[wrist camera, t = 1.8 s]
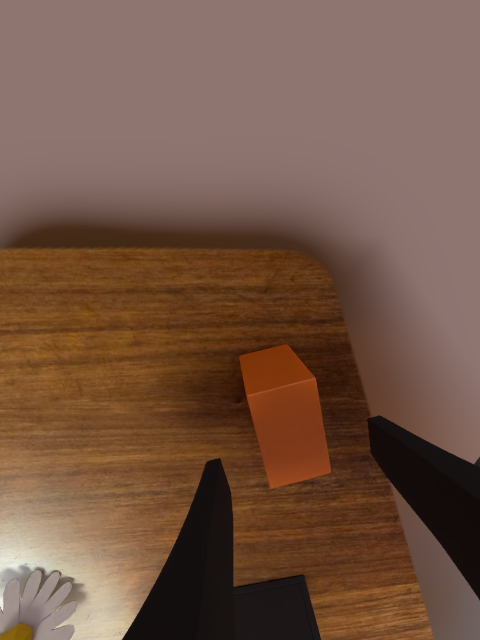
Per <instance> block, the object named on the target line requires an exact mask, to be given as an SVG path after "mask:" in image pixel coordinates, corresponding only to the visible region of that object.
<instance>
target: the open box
mask: <svg viewBox="0 0 480 640" xmlns="http://www.w3.org/2000/svg"><path fill="white" fill-rule="evenodd" d="M233 593H234V615H235V630H236V640H321V638H320V634H319V630H318V626H317V623H316V619H315V615H314V611H313V608H312V604H311V600H310V597H309V593H308V589H307V585H306V582H305V578H304V575H302V576H297V577H291V578H286V579H280V580H275V581H270V582H264V583H259V584H253V585H248V586H242V587H237V588H233Z"/></svg>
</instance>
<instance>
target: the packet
mask: <svg viewBox="0 0 480 640" xmlns="http://www.w3.org/2000/svg"><path fill="white" fill-rule="evenodd" d="M239 361H240V366H241V371H242V376H243V381H244V387H245V392H246V397H247V401H248V405H249V408H250V412H251V416H252V420H253V424H254V428H255V432H256V435H257V439H258V443H259V447H260V451H261V455H262V459H263V463H264V466H265V470H266V474H267V478H268V482H269V486H270V488H271V489H273V488H277V487H281V486H284V485H288V484H292V483H296V482H299V481H303V480H307V479H310V478H314V477H318V476H322V475H325V474H329V473H331V467H330V461H329V455H328V449H327V443H326V437H325V431H324V425H323V419H322V412H321V406H320V400H319V394H318V388H317V382H316V378H315V377H314V376H313V374H312V373H311V372H310V371H309V370H308V368H307V367H306V366H305V365H304V364H303V362H302V361H301V360H300V359H299V358H298V356H297V355H296V354H295V353H294V352H293V351H292V349H291V348H290V347H289V346H288V345H287V344H283V345H280V346H276V347H272V348H268V349H264V350H260V351H256V352H252V353H248V354H244V355H240V356H239Z"/></svg>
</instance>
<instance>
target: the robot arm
mask: <svg viewBox="0 0 480 640" xmlns="http://www.w3.org/2000/svg"><path fill="white" fill-rule="evenodd" d="M368 429H369V438H370V448H371V454H372V455H373V457H374V458H375V460H376V462H377V463H378V465H379V466H380V468H381V469H382V471H383V472H384V474H385V475H386V477H387V478H388V479H389V480H390V482H391V483H392V484H393V485H394V487H395V488H396V489H397V490H398V492H399V493H400V494H401V495H402V497H403V498H404V499H405V500H406V502H407V503H408V504H409V505H410V506H411V508H412V509H413V510H414V511H415V513H416V514H417V515H418V516H419V518H421V520H422V521H423V522H424V524H425V525H426V526H427V527H428V529H429V530H430V531H431V532H432V534H433V535H434V536H435V537H436V539H437V540H438V541H439V543H440V544H441V545H442V546H443V548H444V549H445V551H446V552H447V554H448V555H449V556H450V558H451V559H452V561H453V562H454V563H455V565H456V566H457V568H458V569H459V571H460V572H461V573H462V575H463V576H464V578H465V579H466V581H467V582H468V583H469V585H470V586H471V588H472V589H473V591H474V592H475V594H476V595H477V596H478V598H479V600H480V467H478V466H476V465H474V464H472V463H470V462H468V461H465V460H463V459H461V458H459V457H457V456H455V455H453V454H451V453H449V452H447V451H445V450H443V449H441V448H439V447H437V446H435V445H433V444H431V443H429V442H427V441H426V440H424V439H422V438H420V437H418V436H416V435H414V434H413V433H411V432H409V431H407V430H405V429H404V428H402V427H400V426H398V425H396V424H395V423H393V422H391V421H389V420H387V419H385V418H383V417H382V416H376V417H372V418H368ZM122 640H236V630H235V615H234V593H233V511H232V500H231V491H230V488H229V484H228V481H227V478H226V475H225V472H224V469H223V466H222V463H221V459H220V458H218V459H214V460H211V461H207V463H206V464H205V468H204V471H203V474H202V477H201V480H200V483H199V486H198V489H197V492H196V494H195V497H194V499H193V502H192V505H191V507H190V510H189V512H188V515H187V517H186V520H185V522H184V524H183V526H182V529H181V531H180V533H179V536H178V538H177V540H176V542H175V544H174V547H173V549H172V551H171V553H170V555H169V557H168V559H167V561H166V563H165V565H164V567H163V569H162V571H161V573H160V575H159V577H158V579H157V580H156V582H155V584H154V586H153V588H152V590H151V591H150V593H149V595H148V597H147V599H146V601H145V602H144V604H143V606H142V608H141V609H140V611H139V613H138V614H137V616H136V618H135V620H134V621H133V623H132V624H131V626H130V628H129V629H128V631H127V633H126V634H125V636H124V637H123V639H122Z"/></svg>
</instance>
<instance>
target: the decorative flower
mask: <svg viewBox="0 0 480 640" xmlns="http://www.w3.org/2000/svg"><path fill="white" fill-rule="evenodd" d="M41 573H42V572H41V571H39V570H37V571H35V572H34V573H32V574H31V576H30V578H29V579H28V581H27V584H26V587H25V590H24V593H23V596H22V599H21V602H20V605H19V599H20V583H19V581H18V579H12V580H11V581H10V582H9V583H8V584H7V585H6V588H5V591H4V594H3V611H2V610H1V607H0V640H70V639H71V637H72V635H73V634H74V626H73V625H65V626H62V627H59V628H56V629H53V628H55V627H56V626H58V625H59V624H61V623H62V622H64V621H65V620H67V619H68V618H69V617H70V616H71V615H72V614H73V613H74V612H75V611H76V607H77V603H76V601H75V600H74V601H71V602H68V603H67V604H66V605H64V606H63V607H61V608H60V609H58V610H57V611H56V612H54V613H53V614H51V613H52V612H53V611H54V610H55V609H56V608H57V607H58V606H59V605H60V604H61V602H62V601H63V600H64V599H65V598H66V597H67V596H68V594H69V592H70V591H71V589H72V583H70V582H67V583H65V584H64V585H62V586H61V587H60V588H59V589H58V590H57V591H56V593H55V594H54V595H53V596H52V597H51V598H50V599H49V600H48V598H49V596H50V595H51V593H52V591H53V590H54V588H55V586H56V585H57V583H58V580H59V577H60V575H59V573H58V572H55V573H52V574H51V575H50V577H49V578H48V579H47V580H46V582H45V583H44V585H43V587H42V588H41V590H40V592H39V593H38V595H37V597H36V598H35V595H36V593H37V590H38V587H39V584H40V581H41ZM34 598H35V600H34ZM47 600H48V601H47ZM33 601H34V602H33ZM46 601H47V602H46ZM45 603H46V604H45ZM44 604H45V605H44ZM50 614H51V615H50ZM49 615H50V616H49Z"/></svg>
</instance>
